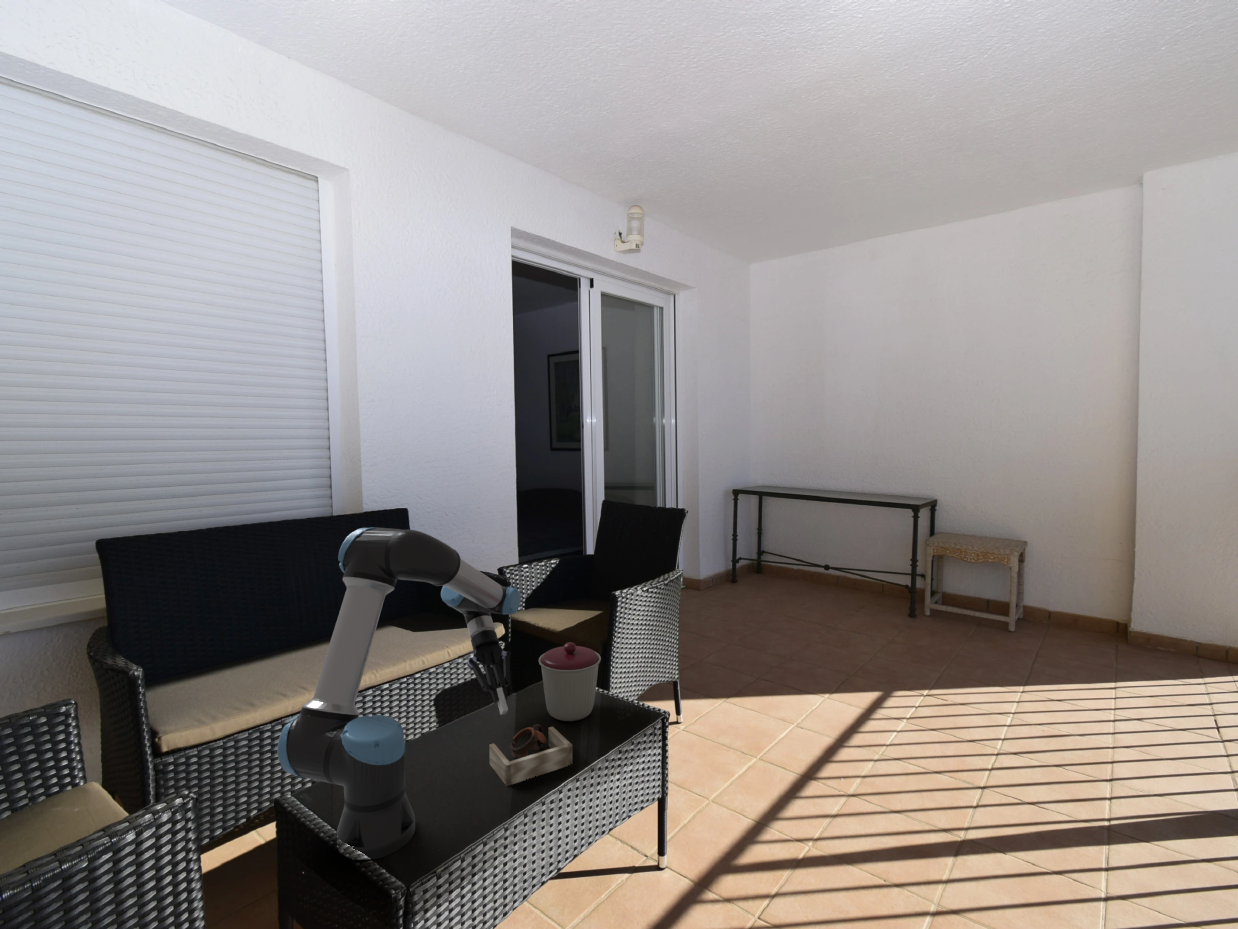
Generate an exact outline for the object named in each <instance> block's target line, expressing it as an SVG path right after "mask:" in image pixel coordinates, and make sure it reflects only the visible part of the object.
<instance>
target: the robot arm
mask: <svg viewBox="0 0 1238 929" xmlns="http://www.w3.org/2000/svg"><path fill="white" fill-rule="evenodd" d="M461 558H462V557H461V556H460V553H459V552H458V551H457V550H456V549H454V548H453V547H452V546H450V545H448V544H447V543H445V542H443V541H442V540H440V539H439V538H436V537H434V536H432V535H430V534H427V533H424V532H423V531H419V530H415V529H401V528H389V527H388V528H386V527H378V526H375V527H374V526H372V527H361V528H357V529H356V530H354V531H352V532H350V533H349V534H348V535H347V536H346V537H345V539H344V541H343V542H342V543H341V546H340V548H339V551H338V556H337V559H338V562H339V564H338V567H339V568H340V570H341V572H342V573H343V576H342V582H343V583H344V585H345V587H346V591H345V593H344V596H343V600H342V603H341V606H340V610H339V614H338V616H337V620H336V622H335V625H334V629H333V632H332V635H331V638H330V642H329V645H328V649H327V652H326V654H325V658H324V661H323V664H322V668H321V671H320V674H319V677H318V681H317V684H316V687H315V691H314V693H313V696H312V698H311V699H310V700H309V701H307V702H306V703H303V705H302V707H301V710H300V713H299V714H297V715H295V716H293V717H292V718H291V719H290V720H288V723H287V724H285V725H284V727H283V728H282V730H281V732H280V735H279V737H278V741H277V749H276V752H277V759H278V762H279V763H280V765H281V768H282V769H283V770H284V771H285V772H286V773H288V774H290V775H293V776H297V778H299V779H309V780H314V781H319V782H322V783H323V782H324V783H328V784H332V785H339V786H342V787H343V792H344V793H343V794H344V797H343V798H344V806H343V808H342V814H341V817H340V819H339V823H338V825H337V830H336V832H337V836H338V838H339V839H340V840H341V841H342V842H344V843H347V844H348V845H350V846H351V847H352V846H354V847H353V849H355V850H358V851H360V852H362V853H364V854H365V855H367V856H368V857H370V858H372V859H374V860H378V859H381V858H385V857H387V856H389V855H392V854H394V853H396V852H397V851H399V850H401V849H402V848H403V847H405V845H407V844H408V843H409V842H410V840H412V838H413V836H414V834H415V831H416V818H415V812H414V810H413V807H412V805H411V803H410V801H409V798H408V796H407V792H406V741H405V733H404V730H403V726H402V725H401V723H400V722H399V721H397V720H396V719H395V718H393V717H391V716H388V715H387V716H386V715H383V714H373V715H369V714H366V715H363V716H360V712H359V710H358V708H357V707H356V705H355V704H356V700H357V696H358V694H359V690H360V687H361V683H362V679H363V676H364V673H365V669H366V665H367V662H368V657H369V654H370V651H371V648H372V643H373V641H374V640H373V639H374V637H375V633H376V631H377V627H378V623H379V619H380V616H381V612H382V609H383V604H384V601H385V598H386V596H387V595H388V594H390V593H391V592H393V591H394V590H395V588H396V585H397V580H399V581H415V582H424V583H429V584H431V585H433V586H436V587H441V586H442V588H441V591H440V597H441V599H442V602H444V603H445V604H446V605H447V606H448V607H450V608H452V609H454V610H456V611H458V612H459V613H461V614H462V615H463V616H464V620H465V623H466V624H465V625H466V626H467V631H468V635H469V638H470V643H471V646H472V651H473V656H472V658H469V659H468V662H467V667H468V668H470V670H472V673H473V674H474V675H475V677H476V679H477V681H478V683H479V685H480V686H481V689H482V691H483V692H484V693H486V692H489V694H490V695H491V697H492V701H493V703H494V704H496V703H497V707H498V709H499V715H500V716H502V715H506V714H507V713H508V711H509V707H508V704H507V700H508V697H509V695H508V692H507V687H509V685H510V683H511V662H510V658H511V655H512V652H511V651H510V650H508V651H505V650H503V647H501V645H500V642H499V638H498V634H497V631H496V628H495V624H494V622H493V621H494V620H493V619H492V614H498V615H514V614H516V613H517V612H518V610H519V608H520V605H521V592H520V591H519V589H518V588H516V587H512V586H504V585H501V584H500V583H499V582H496V581H495V580H494V579H492V578H491V577H489V576H488V575H486V574H485V573H483V572H482V571H480V570H478V569H477V568H476V567H474V566H472V565H471V564H469V563H468V562H466V561H465V560H463V559H461ZM491 613H492V614H491ZM501 657H502V660H503V663H502V664H503V666H502V667H503V671H502V669H501V665H500V658H501ZM478 663H479V664H480V665H481V666H482V668H483V671H484V672H485V674H484V673H483V671H482V669H481V667H480V665H479V664H478ZM495 680H496V681H495Z"/></svg>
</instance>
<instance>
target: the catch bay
mask: <svg viewBox="0 0 1238 929" xmlns="http://www.w3.org/2000/svg"><path fill="white" fill-rule="evenodd" d="M547 735H548V736H547V737H548V744H549V747H550V749H549V750H545V751H544V750H542V751H539V752H537V753H532V754H528V756H526V757H521V758H515V759H513V760H511V761H510V760H509V759H508V758H507V757H506V756H505V755H504V753H503V752H502V751H501V750H500V748H498V746H497V745H496V744H495V743H491V744H489V745H488V746H489V765H490V767H491V768H492V769H493V770H494V772H495V773H496V774H497V776H498V777H499V779H500V780H501V781H502V783H504V784H505V786H506V787H508V786H509V787H510V786H511V785H514V784H518V783H521V782H523V781H526V779H527V780H530V779H532V778H535V776H536V777H539V776H541V775H544V774H548V773H551V772H554V771H557V770H559V769H560V770H561V769H563V768H565V767H569V766H571V765H570V764H572V765H574V764H573V761H574V760H573V744H572V743H571V742H570V741H569V740H568V739H567V738H566V737H565V736H564V735H562V733H560V732H559V731H558V730H557V729H556V728H555V727H554V726H550V727H548V734H547ZM568 765H569V766H568ZM529 778H530V779H529Z"/></svg>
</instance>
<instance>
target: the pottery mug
mask: <svg viewBox="0 0 1238 929" xmlns="http://www.w3.org/2000/svg"><path fill="white" fill-rule="evenodd" d="M527 734H528V736H529V737H530V738H529V739H528V740H527V741H526V742H525V743H524V744H522V745H521V746H518V747H516V744H517V743H518V742H519V740H520V739H522V738H523V737H524V736H527ZM541 746H542V747H543V751H545V750H549V749H551V748H550V747H549V740H548V739H547V738H546V736H545V735H544V729H543V726H542V725H541V724H539V723H536V724H533V725H532V727H531V726H529V727H525V728H522V729H521V730H519V732H517V733H516V734H515V735H514V736H513V737H512V741H511V743H510V744H509V748H510V751H511V757H513V758H515V759H519V758H523V757H526V756H529V750H531V751H538V750H540V747H541Z"/></svg>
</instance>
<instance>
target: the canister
mask: <svg viewBox="0 0 1238 929" xmlns="http://www.w3.org/2000/svg"><path fill="white" fill-rule="evenodd" d="M601 660H602V658H601V655H600V654H599V653H598V652H596V651H595V650H593V649H592V648H589V647H586V646H579V645H576V644H575V643H574V642H570V641H569V642H566V643H565V644H564V645H562V646H558V647H554V648H551V649H549V650H547V651H545V653H543V654H541V655H540V656H539V658H538V663H539V665H540V666H541V675H542V684H543V693H544V699H545V700H544V701H545V705H546V709H547V710H546V711H547V712H548V714H549V715H550V716H551V717H552V718H553V719H555V720H559V721H563V722H576V721H580V720H583V719H585V718H587V717H588V716H589V715H590V714H591V713H592V711H593V708H594V706H595V699H596V691H597V682H598V675H599V674H598V671H599V665H600V663H601Z"/></svg>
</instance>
